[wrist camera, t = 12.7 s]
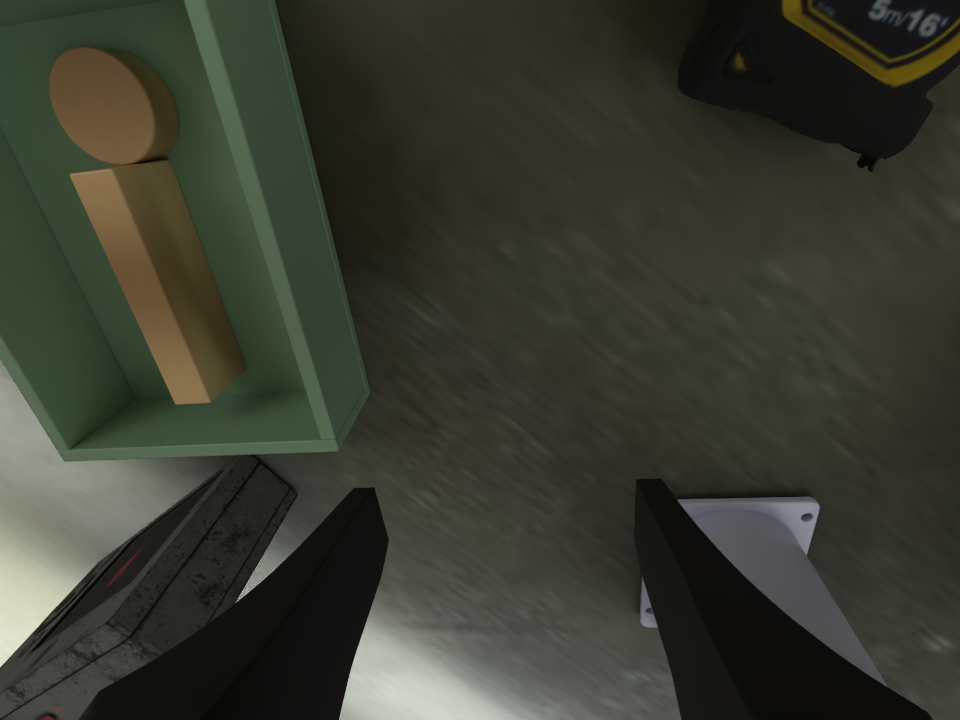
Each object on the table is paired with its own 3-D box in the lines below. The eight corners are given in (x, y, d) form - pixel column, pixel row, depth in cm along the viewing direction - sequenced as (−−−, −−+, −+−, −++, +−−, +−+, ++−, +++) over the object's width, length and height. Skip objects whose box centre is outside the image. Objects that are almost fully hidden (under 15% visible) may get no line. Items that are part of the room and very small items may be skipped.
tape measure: (653, 91, 17) (685, 89, 13) (776, -178, 13) (856, -268, 10) (831, 163, 17) (903, 178, 14) (989, -79, 14) (1131, -133, 11)
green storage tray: (371, 392, 23) (339, 451, 19) (137, 404, 25) (63, 461, 21) (266, -36, 16) (180, -81, 12) (-56, 18, 17) (-228, -7, 13)
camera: (141, 601, 32) (-3, 787, 24) (89, 566, 31) (-84, 749, 22) (302, 493, 27) (192, 686, 18) (246, 445, 25) (97, 627, 17)
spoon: (268, 367, 22) (233, 402, 20) (195, 371, 23) (152, 406, 20) (155, 42, 17) (86, 31, 14) (62, 57, 17) (-22, 48, 15)
